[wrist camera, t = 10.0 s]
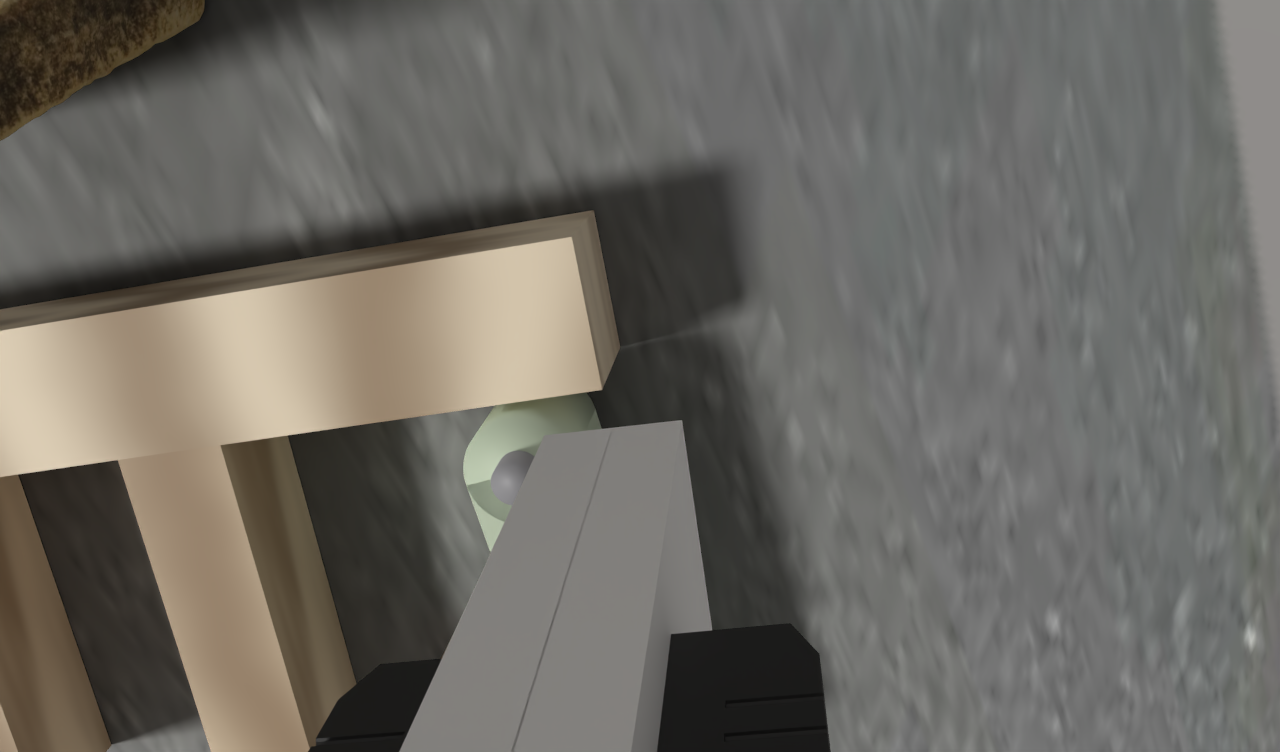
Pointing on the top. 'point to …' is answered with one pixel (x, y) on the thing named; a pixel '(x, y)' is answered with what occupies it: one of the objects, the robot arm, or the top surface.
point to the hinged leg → (516, 451)
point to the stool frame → (261, 447)
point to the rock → (75, 47)
